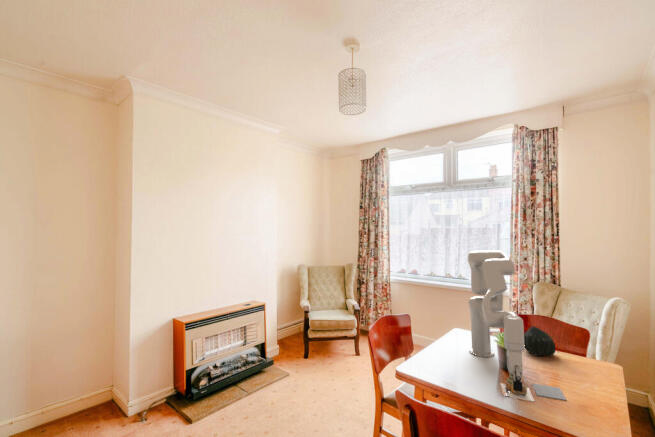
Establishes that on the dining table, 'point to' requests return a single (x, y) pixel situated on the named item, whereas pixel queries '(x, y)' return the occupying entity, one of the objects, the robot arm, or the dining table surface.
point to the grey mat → (548, 392)
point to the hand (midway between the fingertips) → (516, 385)
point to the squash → (538, 342)
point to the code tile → (524, 397)
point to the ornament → (510, 386)
